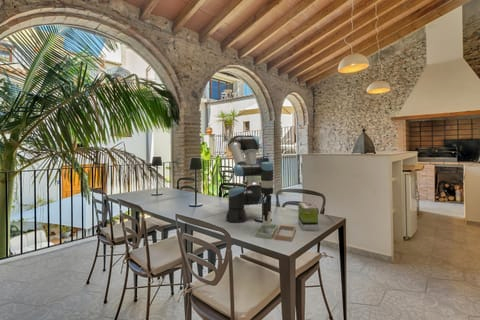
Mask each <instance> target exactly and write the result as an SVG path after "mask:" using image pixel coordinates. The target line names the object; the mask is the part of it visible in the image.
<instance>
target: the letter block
mask: <svg viewBox="0 0 480 320" xmlns="http://www.w3.org/2000/svg"><path fill="white" fill-rule="evenodd" d="M268 215H269V226H270V225H271V224H272V222H271V221H272V220H271V219H272V212H270V211H268ZM262 224H263V225H264V215H263V214H262Z"/></svg>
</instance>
